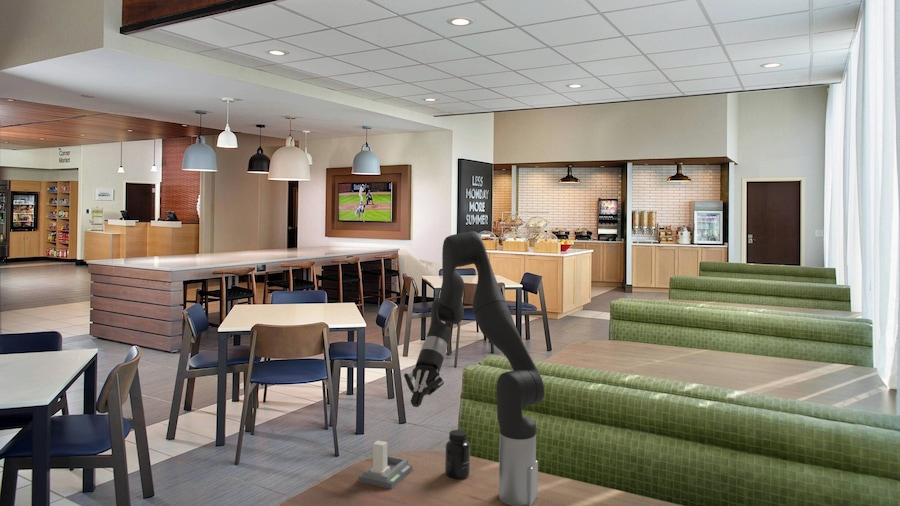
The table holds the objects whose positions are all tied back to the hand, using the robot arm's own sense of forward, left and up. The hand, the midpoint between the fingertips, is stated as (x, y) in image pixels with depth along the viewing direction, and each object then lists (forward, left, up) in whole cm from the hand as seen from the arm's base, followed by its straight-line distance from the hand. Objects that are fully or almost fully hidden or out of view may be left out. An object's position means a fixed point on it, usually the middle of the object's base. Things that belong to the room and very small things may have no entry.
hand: (414, 405), depth 176 cm
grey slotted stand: (+3, +12, -17) cm, 21 cm away
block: (+3, +15, -15) cm, 21 cm away
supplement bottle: (-15, +3, -17) cm, 23 cm away
